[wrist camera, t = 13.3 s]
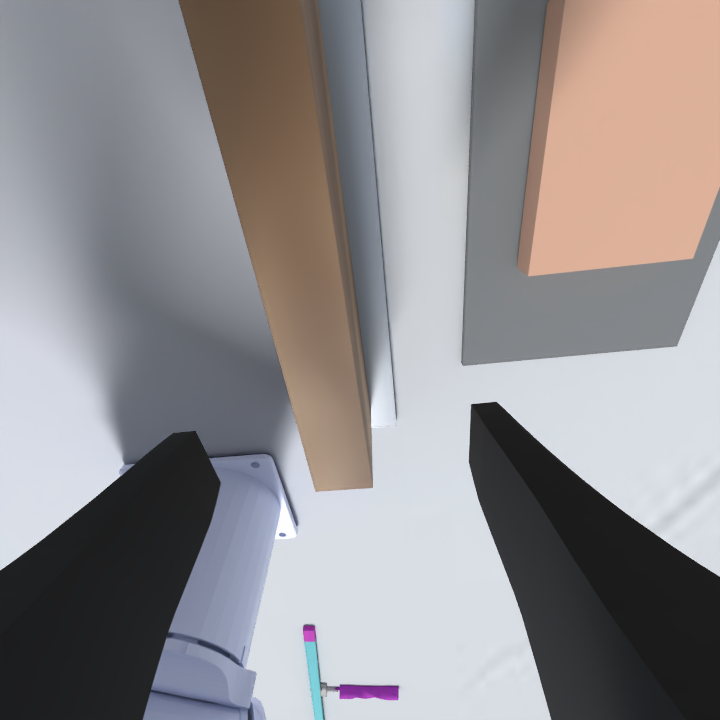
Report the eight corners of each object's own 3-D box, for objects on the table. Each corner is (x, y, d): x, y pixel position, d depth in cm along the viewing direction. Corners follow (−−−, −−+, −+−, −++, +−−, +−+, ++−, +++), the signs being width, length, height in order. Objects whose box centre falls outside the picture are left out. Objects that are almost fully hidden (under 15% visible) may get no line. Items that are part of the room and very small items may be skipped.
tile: (528, 276, 14) (566, -13, 10) (514, 265, 15) (544, 4, 11) (693, 258, 13) (809, -52, 9) (665, 249, 14) (757, -30, 10)
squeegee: (391, 735, 47) (316, 733, 47) (390, 718, 49) (317, 716, 49) (410, 636, 33) (302, 634, 33) (408, 616, 34) (305, 613, 34)
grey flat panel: (308, 428, 20) (307, 433, 20) (181, -60, 10) (175, -67, 10) (396, 420, 20) (396, 426, 20) (352, -91, 10) (352, -100, 10)
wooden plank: (326, 413, 19) (315, 491, 15) (238, 8, 11) (157, -78, 7) (370, 409, 19) (372, 487, 15) (316, -4, 11) (284, -102, 6)
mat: (461, 362, 18) (462, 365, 18) (480, -144, 9) (483, -152, 9) (672, 343, 17) (677, 346, 17) (893, -223, 9) (909, -234, 8)
